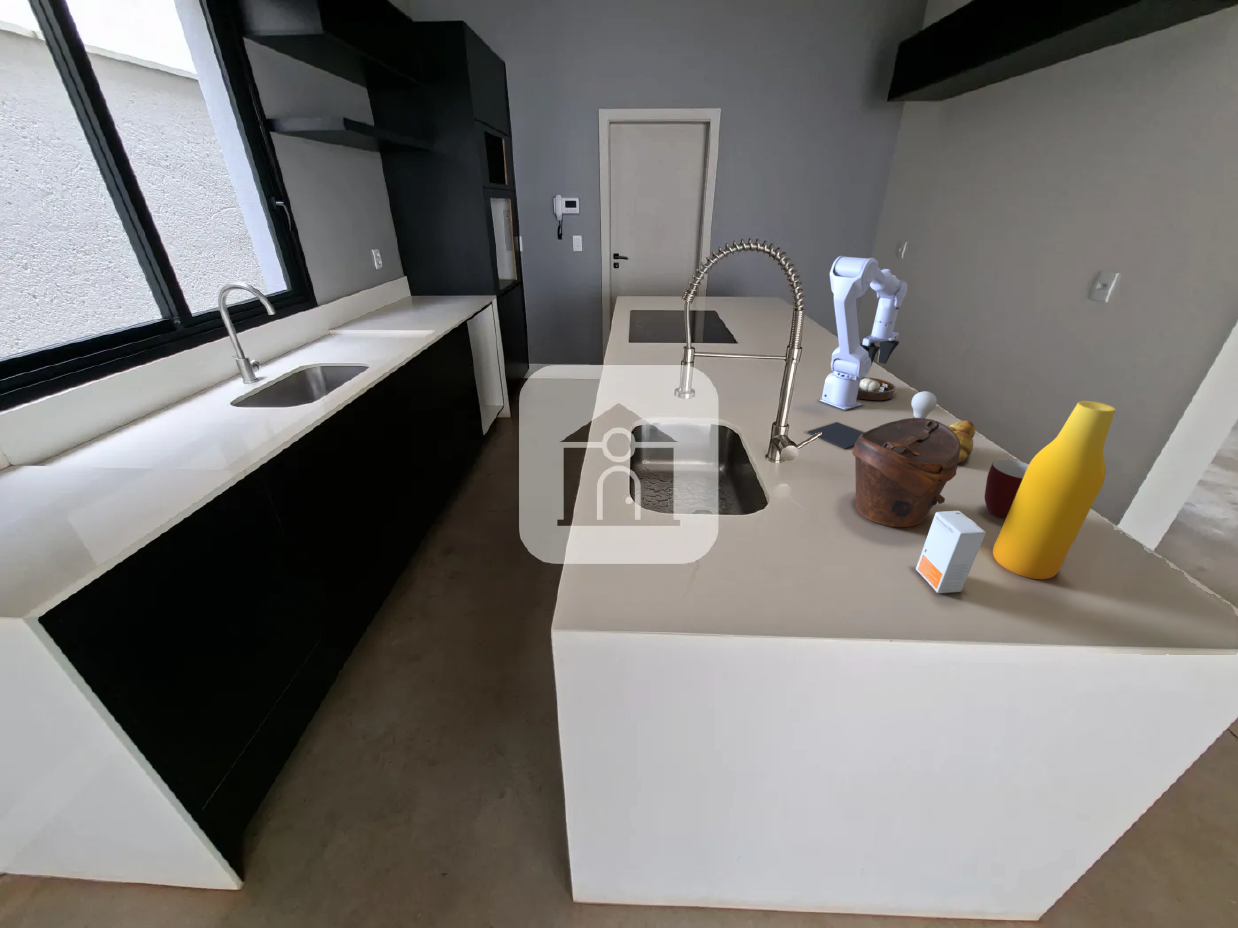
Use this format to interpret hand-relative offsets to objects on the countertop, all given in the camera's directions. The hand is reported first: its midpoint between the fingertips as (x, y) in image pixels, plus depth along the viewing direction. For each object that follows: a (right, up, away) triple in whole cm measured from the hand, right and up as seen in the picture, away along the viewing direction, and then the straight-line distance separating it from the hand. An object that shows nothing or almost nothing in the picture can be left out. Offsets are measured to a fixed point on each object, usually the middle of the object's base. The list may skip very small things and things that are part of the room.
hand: (874, 364), depth 157 cm
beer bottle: (-11, -49, -71) cm, 87 cm away
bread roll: (-1, -29, -35) cm, 45 cm away
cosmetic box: (-28, -51, -75) cm, 95 cm away
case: (-27, -41, -56) cm, 75 cm away
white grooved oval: (0, -8, +4) cm, 9 cm away
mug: (-4, -42, -58) cm, 71 cm away
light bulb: (+2, -21, -19) cm, 28 cm away
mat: (-22, -24, -24) cm, 40 cm away
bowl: (0, -8, +4) cm, 10 cm away
